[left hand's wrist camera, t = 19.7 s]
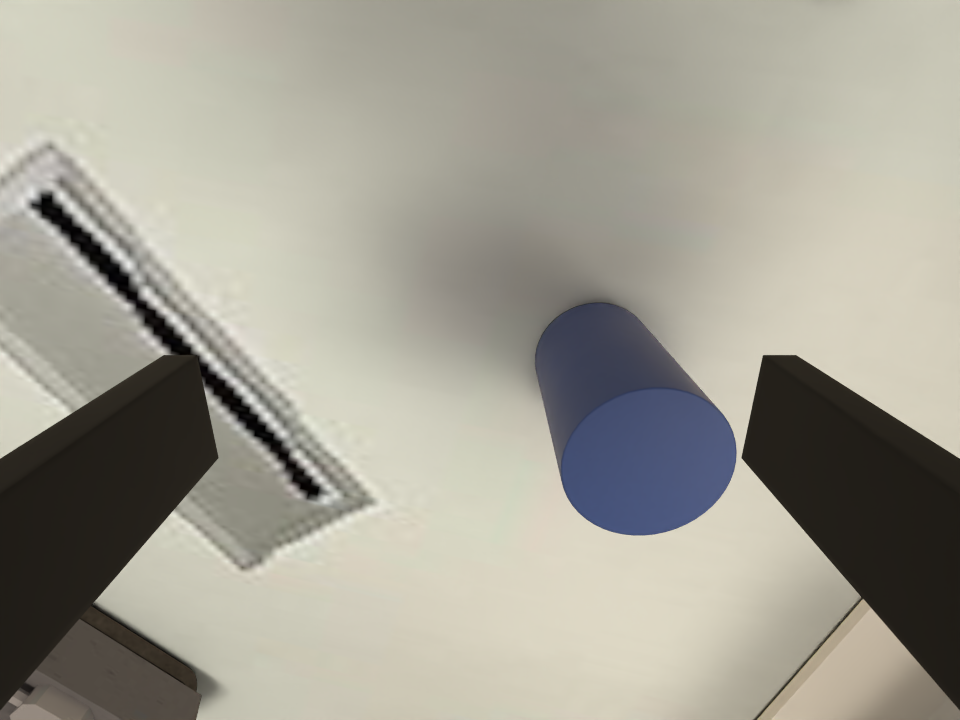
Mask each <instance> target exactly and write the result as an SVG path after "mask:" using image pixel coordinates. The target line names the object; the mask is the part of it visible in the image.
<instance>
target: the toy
mask: <svg viewBox="0 0 960 720" xmlns="http://www.w3.org/2000/svg"><path fill="white" fill-rule="evenodd" d="M196 690H197V679H196V676H195V673H194V672H193V671H192V670H191V669H190V668H188V667H187V666H185V665H184V664H182V663H180V662H179V661H177V660H176V659H174V658H173V657H171V656H169V655H168V654H166V653H165V652H163V651H161V650H160V649H158V648H157V647H155V646H154V645H152V644H150V643H149V642H147V641H146V640H144V639H142V638H141V637H139V636H138V635H136V634H135V633H133V632H131V631H130V630H128V629H127V628H125V627H124V626H122V625H120V624H119V623H117V622H116V621H114V620H112V619H111V618H109V617H108V616H106V615H105V614H103V613H101V612H100V611H98V610H97V609H95V608H93V607H92V606H90V607H89V608H88V610H87V611H86V612H85V613H84V614H83V615H82V617H81V618H80V619H79V620H78V621H77V622H76V623H75V625H74V626H73V627H72V628H71V629H70V630H69V632H68V633H67V634H66V635H65V636H64V637H63V639H62V640H61V641H60V642H59V643H58V644H57V645H56V647H55V648H54V649H53V650H52V651H51V652H50V654H49V655H48V656H47V657H46V658H45V659H44V661H43V662H42V663H41V664H40V665H39V666H38V667H37V669H36V670H35V671H34V672H33V673H32V674H31V676H30V677H29V678H28V679H27V680H26V681H25V683H24V684H23V685H22V686H21V687H20V688H19V689H18V691H17V692H16V693H15V694H14V695H13V696H12V698H11V699H10V700H9V701H8V702H7V703H6V705H5V706H4V707H3V708H2V709H1V710H0V720H196V717H197V713H198V708H199V704H200V700H201V695H200V694H198V693H197V692H196Z"/></svg>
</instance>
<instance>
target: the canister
mask: <svg viewBox="0 0 960 720" xmlns="http://www.w3.org/2000/svg"><path fill="white" fill-rule="evenodd" d="M535 366H536V372H537V377H538V381H539V385H540V390H541V394H542V398H543V403H544V407H545V411H546V416H547V420H548V424H549V429H550V433H551V437H552V442H553V446H554V450H555V455H556V459H557V463H558V468H559V472H560V476H561V481H562V484H563V488H564V491H565V493H566V495H567V498H568V499H569V501H570V502H571V504H572V505H573V507H574V508H575V509H576V510H577V511H578V512H579V513H580V514H581V515H582V516H583V517H584V518H586V519H587V520H588V521H590V522H591V523H593V524H595V525H597V526H599V527H601V528H603V529H605V530H608V531H611V532H615V533H620V534H625V535H652V534H658V533H663V532H667V531H670V530H673V529H676V528H679V527H681V526H683V525H686V524H688V523H689V522H691V521H693V520H695V519H696V518H698V517H699V516H701V515H702V514H704V513H705V512H706V511H707V510H708V509H709V508H711V507H712V506H713V505H714V504H715V503H716V501H717V500H718V499H719V498H720V497H721V495H722V494H723V492H724V491H725V490H726V488H727V486H728V484H729V482H730V480H731V478H732V475H733V472H734V468H735V463H736V442H735V438H734V434H733V431H732V429H731V427H730V425H729V423H728V421H727V420H726V418H725V417H724V415H723V414H722V413H721V412H720V410H719V409H718V408H717V407H716V406H715V405H714V404H713V403H712V401H711V400H710V399H709V398H708V397H707V396H706V395H705V394H704V392H703V391H702V390H701V389H700V388H699V387H698V386H697V385H696V383H695V382H694V381H693V380H692V379H691V378H690V377H689V375H688V374H687V373H686V372H685V371H684V370H683V369H682V368H681V366H680V365H679V364H678V363H677V362H676V361H675V360H674V359H673V357H672V356H671V355H670V354H669V353H668V352H667V351H666V350H665V348H664V347H663V346H662V345H661V344H660V343H659V342H658V340H657V339H656V338H655V337H654V336H653V335H652V334H651V333H650V331H649V330H648V329H647V328H646V327H645V326H644V325H643V324H642V322H641V321H640V320H639V319H638V318H637V317H636V316H634V315H633V314H632V313H631V312H629V311H627V310H626V309H624V308H621V307H619V306H616V305H612V304H606V303H590V304H584V305H580V306H577V307H575V308H572V309H570V310H568V311H566V312H564V313H563V314H561V315H560V316H558V317H557V318H556V319H555V320H554V321H553V322H552V323H551V324H550V325H549V326H548V327H547V328H546V330H545V331H544V333H543V334H542V336H541V338H540V341H539V343H538V346H537V350H536V355H535Z"/></svg>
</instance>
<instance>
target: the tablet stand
mask: <svg viewBox="0 0 960 720" xmlns="http://www.w3.org/2000/svg"><path fill="white" fill-rule="evenodd" d="M757 720H960V710H959V709H958V708H957V707H956V706H955V705H954V703H953V702H952V701H951V700H950V699H949V698H948V696H947V695H946V694H945V693H944V692H943V691H942V689H941V688H940V687H939V686H938V685H937V684H936V683H935V681H934V680H933V679H932V678H931V677H930V676H929V674H928V673H927V672H926V671H925V670H924V669H923V667H922V666H921V665H920V664H919V663H918V662H917V661H916V659H915V658H914V657H913V656H912V655H911V654H910V652H909V651H908V650H907V649H906V648H905V647H904V645H903V644H902V643H901V642H900V641H899V640H898V639H897V637H896V636H895V635H894V634H893V633H892V632H891V630H890V629H889V628H888V627H887V626H886V625H885V623H884V622H883V621H882V620H881V619H880V618H879V617H878V615H877V614H876V613H875V612H874V611H873V610H872V608H871V607H870V606H869V605H868V604H867V603H866V601H865V600H864V599H863V600H862V601H861V602H860V603H859V604H858V605H857V606H856V608H855V609H854V610H853V611H852V612H851V613H850V614H849V616H848V617H847V618H846V619H845V620H844V621H843V622H842V624H841V625H840V626H839V627H838V628H837V629H836V630H835V631H834V633H833V634H832V635H831V636H830V637H829V638H828V639H827V641H826V642H825V643H824V644H823V645H822V646H821V647H820V649H819V650H818V651H817V652H816V653H815V654H814V655H813V657H812V658H811V659H810V660H809V661H808V662H807V663H806V664H805V666H804V667H803V668H802V669H801V670H800V671H799V672H798V674H797V675H796V676H795V677H794V678H793V679H792V680H791V682H790V683H789V684H788V685H787V686H786V687H785V688H784V690H783V691H782V692H781V693H780V694H779V695H778V696H777V698H776V699H775V700H774V701H773V702H772V703H771V704H770V705H769V707H768V708H767V709H766V710H765V711H764V712H763V713H762V715H761V716H760V717H759V718H758V719H757Z"/></svg>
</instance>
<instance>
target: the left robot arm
mask: <svg viewBox="0 0 960 720" xmlns="http://www.w3.org/2000/svg"><path fill="white" fill-rule="evenodd" d="M217 459H218V453H217V448H216V444H215V439H214V434H213V429H212V425H211V420H210V415H209V410H208V406H207V401H206V396H205V391H204V387H203V382H202V377H201V372H200V367H199V363H198V358H197V355H164V356H162V357H160V358H159V359H157V360H156V361H154V362H152V363H151V364H149V365H148V366H146V367H145V368H143V369H141V370H140V371H138V372H137V373H135V374H134V375H132V376H130V377H129V378H127V379H126V380H124V381H122V382H121V383H119V384H118V385H116V386H115V387H113V388H111V389H110V390H108V391H107V392H105V393H103V394H102V395H100V396H99V397H97V398H96V399H94V400H92V401H91V402H89V403H88V404H86V405H85V406H83V407H81V408H80V409H78V410H77V411H75V412H73V413H72V414H70V415H69V416H67V417H66V418H64V419H62V420H61V421H59V422H58V423H56V424H54V425H53V426H51V427H50V428H48V429H47V430H45V431H43V432H42V433H40V434H39V435H37V436H36V437H34V438H32V439H31V440H29V441H28V442H26V443H24V444H23V445H21V446H20V447H18V448H17V449H15V450H13V451H12V452H10V453H9V454H7V455H5V456H4V457H2V458H1V459H0V710H1V709H2V708H3V707H4V706H5V705H6V703H7V702H8V701H9V700H10V699H11V698H12V696H13V695H14V694H15V693H16V692H17V691H18V689H19V688H20V687H21V686H22V685H23V684H24V683H25V681H26V680H27V679H28V678H29V677H30V676H31V674H32V673H33V672H34V671H35V670H36V669H37V667H38V666H39V665H40V664H41V663H42V662H43V661H44V659H45V658H46V657H47V656H48V655H49V654H50V652H51V651H52V650H53V649H54V648H55V647H56V645H57V644H58V643H59V642H60V641H61V640H62V639H63V637H64V636H65V635H66V634H67V633H68V632H69V630H70V629H71V628H72V627H73V626H74V625H75V623H76V622H77V621H78V620H79V619H80V618H81V617H82V615H83V614H84V613H85V612H86V611H87V610H88V608H89V607H90V606H91V605H92V604H93V603H94V601H95V600H96V599H97V598H98V597H99V596H100V595H101V593H102V592H103V591H104V590H105V589H106V588H107V586H108V585H109V584H110V583H111V582H112V581H113V579H114V578H115V577H116V576H117V575H118V574H119V573H120V571H121V570H122V569H123V568H124V567H125V566H126V564H127V563H128V562H129V561H130V560H131V559H132V558H133V556H134V555H135V554H136V553H137V552H138V551H139V549H140V548H141V547H142V546H143V545H144V544H145V542H146V541H147V540H148V539H149V538H150V537H151V536H152V534H153V533H154V532H155V531H156V530H157V529H158V527H159V526H160V525H161V524H162V523H163V522H164V520H165V519H166V518H167V517H168V516H169V515H170V514H171V512H172V511H173V510H174V509H175V508H176V507H177V505H178V504H179V503H180V502H181V501H182V500H183V498H184V497H185V496H186V495H187V494H188V493H189V492H190V490H191V489H192V488H193V487H194V486H195V485H196V483H197V482H198V481H199V480H200V479H201V478H202V476H203V475H204V474H205V473H206V472H207V471H208V470H209V468H210V467H211V466H212V465H213V464H214V463H215V461H216V460H217ZM742 459H743V460H744V461H745V463H746V464H747V465H748V466H749V467H750V468H751V470H752V471H753V472H754V473H755V474H756V475H757V476H758V478H759V479H760V480H761V481H762V482H763V483H764V485H765V486H766V487H767V488H768V489H769V490H770V492H771V493H772V494H773V495H774V496H775V497H776V498H777V500H778V501H779V502H780V503H781V504H782V505H783V507H784V508H785V509H786V510H787V511H788V512H789V514H790V515H791V516H792V517H793V518H794V519H795V520H796V522H797V523H798V524H799V525H800V526H801V527H802V529H803V530H804V531H805V532H806V533H807V534H808V536H809V537H810V538H811V539H812V540H813V541H814V542H815V544H816V545H817V546H818V547H819V548H820V549H821V551H822V552H823V553H824V554H825V555H826V556H827V558H828V559H829V560H830V561H831V562H832V563H833V564H834V566H835V567H836V568H837V569H838V570H839V571H840V573H841V574H842V575H843V576H844V577H845V578H846V579H847V581H848V582H849V583H850V584H851V585H852V586H853V588H854V589H855V590H856V591H857V592H858V593H859V595H860V596H861V597H862V598H863V599H864V600H865V601H866V603H867V604H868V605H869V606H870V607H871V608H872V610H873V611H874V612H875V613H876V614H877V615H878V617H879V618H880V619H881V620H882V621H883V622H884V623H885V625H886V626H887V627H888V628H889V629H890V630H891V632H892V633H893V634H894V635H895V636H896V637H897V639H898V640H899V641H900V642H901V643H902V644H903V645H904V647H905V648H906V649H907V650H908V651H909V652H910V654H911V655H912V656H913V657H914V658H915V659H916V661H917V662H918V663H919V664H920V665H921V666H922V667H923V669H924V670H925V671H926V672H927V673H928V674H929V676H930V677H931V678H932V679H933V680H934V681H935V683H936V684H937V685H938V686H939V687H940V688H941V689H942V691H943V692H944V693H945V694H946V695H947V696H948V698H949V699H950V700H951V701H952V702H953V703H954V705H955V706H956V707H957V708H958V709H959V710H960V459H959V458H958V457H956V456H955V455H953V454H951V453H950V452H948V451H947V450H945V449H943V448H942V447H940V446H939V445H937V444H936V443H934V442H932V441H931V440H929V439H928V438H926V437H924V436H923V435H921V434H920V433H918V432H917V431H915V430H913V429H912V428H910V427H909V426H907V425H906V424H904V423H902V422H901V421H899V420H898V419H896V418H894V417H893V416H891V415H890V414H888V413H887V412H885V411H883V410H882V409H880V408H879V407H877V406H875V405H874V404H872V403H871V402H869V401H868V400H866V399H864V398H863V397H861V396H860V395H858V394H857V393H855V392H853V391H852V390H850V389H849V388H847V387H845V386H844V385H842V384H841V383H839V382H838V381H836V380H834V379H833V378H831V377H830V376H828V375H826V374H825V373H823V372H822V371H820V370H819V369H817V368H815V367H814V366H812V365H811V364H809V363H808V362H806V361H804V360H803V359H801V358H800V357H798V356H796V355H763V358H762V363H761V367H760V372H759V377H758V382H757V387H756V391H755V396H754V401H753V406H752V410H751V415H750V420H749V425H748V429H747V434H746V439H745V444H744V448H743V453H742Z"/></svg>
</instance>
